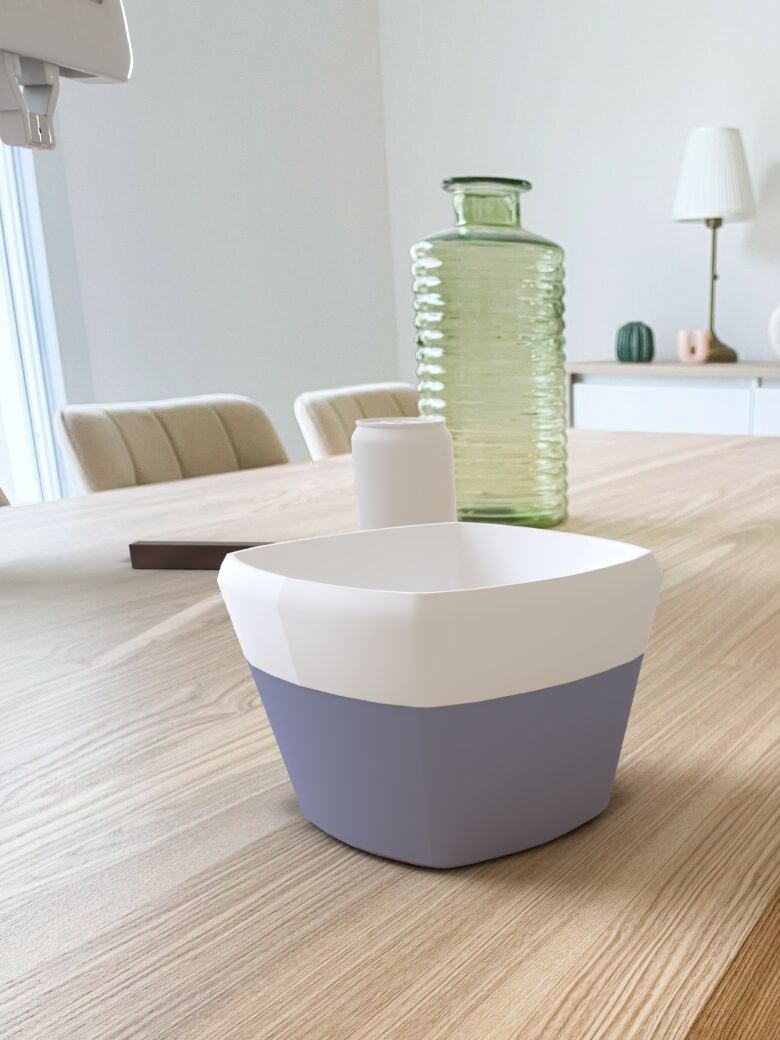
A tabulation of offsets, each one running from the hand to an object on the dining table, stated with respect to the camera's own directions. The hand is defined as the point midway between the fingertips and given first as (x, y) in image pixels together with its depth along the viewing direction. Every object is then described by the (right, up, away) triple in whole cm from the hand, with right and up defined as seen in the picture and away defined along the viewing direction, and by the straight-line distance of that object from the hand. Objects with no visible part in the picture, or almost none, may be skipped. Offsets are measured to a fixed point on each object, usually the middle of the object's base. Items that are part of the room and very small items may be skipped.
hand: (30, 148), depth 79 cm
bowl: (+29, -42, -23) cm, 56 cm away
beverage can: (+18, -19, +30) cm, 40 cm away
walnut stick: (0, -18, +32) cm, 36 cm away
